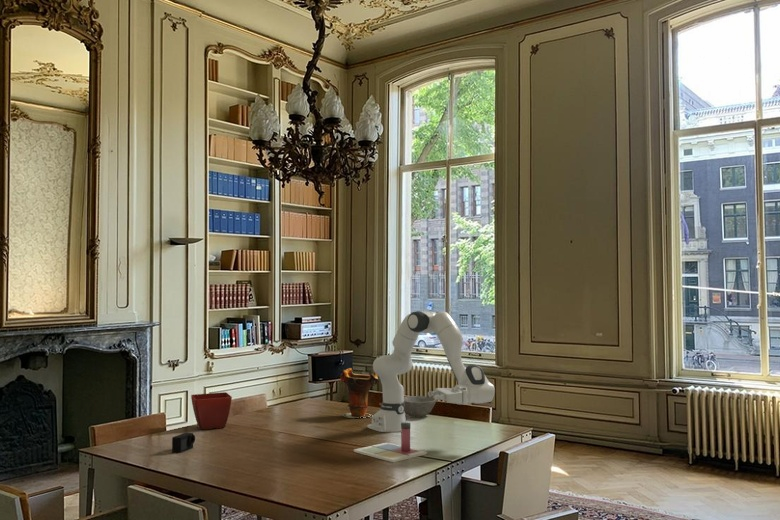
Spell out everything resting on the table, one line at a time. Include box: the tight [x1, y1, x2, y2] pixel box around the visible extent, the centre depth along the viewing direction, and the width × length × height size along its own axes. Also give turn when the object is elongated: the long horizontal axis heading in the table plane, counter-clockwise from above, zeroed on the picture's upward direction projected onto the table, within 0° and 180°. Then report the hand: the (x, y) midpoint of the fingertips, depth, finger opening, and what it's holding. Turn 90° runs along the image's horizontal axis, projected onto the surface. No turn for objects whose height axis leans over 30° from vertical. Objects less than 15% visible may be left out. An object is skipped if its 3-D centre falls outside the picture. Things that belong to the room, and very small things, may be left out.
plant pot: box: [190, 391, 233, 430], centre depth 344 cm, size 19×19×17 cm
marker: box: [400, 421, 411, 452], centre depth 282 cm, size 4×4×12 cm
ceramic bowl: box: [404, 395, 438, 418], centre depth 371 cm, size 22×23×10 cm
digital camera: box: [171, 432, 196, 454], centre depth 291 cm, size 10×5×7 cm, turn 165°
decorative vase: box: [339, 367, 379, 419], centre depth 373 cm, size 20×22×27 cm
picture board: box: [353, 442, 428, 463], centre depth 282 cm, size 26×20×1 cm
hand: (431, 395), depth 285 cm, fingers open, 8 cm apart
